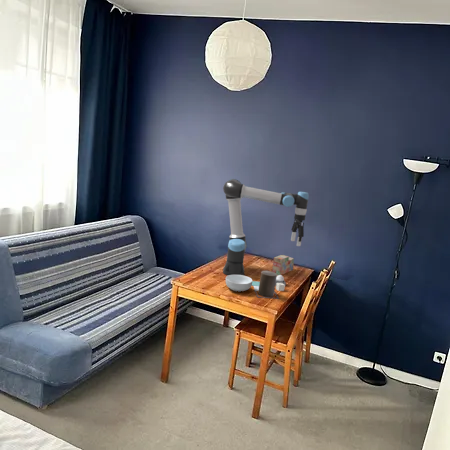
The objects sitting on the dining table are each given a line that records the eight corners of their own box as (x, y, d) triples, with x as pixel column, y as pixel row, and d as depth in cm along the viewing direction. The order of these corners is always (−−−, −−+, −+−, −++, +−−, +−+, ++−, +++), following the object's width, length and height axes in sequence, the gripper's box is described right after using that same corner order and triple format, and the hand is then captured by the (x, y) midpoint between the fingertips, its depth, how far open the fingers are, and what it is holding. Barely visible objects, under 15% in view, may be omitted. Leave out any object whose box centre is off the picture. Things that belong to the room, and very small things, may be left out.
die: (278, 291, 264) (279, 285, 264) (275, 288, 268) (276, 282, 267) (284, 290, 266) (284, 284, 265) (281, 288, 269) (282, 282, 269)
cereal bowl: (223, 283, 266) (224, 273, 265) (249, 285, 268) (250, 275, 266) (225, 293, 250) (226, 282, 248) (252, 295, 251) (254, 284, 250)
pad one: (255, 290, 260) (255, 290, 260) (253, 286, 268) (253, 285, 268) (269, 291, 261) (269, 291, 261) (266, 287, 269) (266, 286, 269)
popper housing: (275, 285, 274) (275, 282, 274) (272, 281, 281) (273, 278, 280) (285, 286, 275) (285, 282, 274) (283, 282, 282) (283, 279, 281)
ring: (257, 297, 249) (257, 296, 249) (254, 289, 261) (254, 289, 261) (278, 298, 250) (278, 298, 250) (274, 291, 263) (274, 290, 263)
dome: (276, 282, 275) (277, 276, 274) (275, 280, 280) (275, 273, 279) (283, 283, 275) (284, 276, 274) (282, 280, 280) (283, 274, 279)
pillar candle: (261, 297, 250) (264, 273, 247) (255, 291, 259) (259, 268, 256) (276, 297, 253) (279, 273, 250) (270, 291, 262) (273, 268, 259)
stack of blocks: (285, 268, 318) (287, 252, 315) (292, 270, 314) (295, 254, 312) (271, 273, 300) (273, 257, 298) (279, 275, 297) (281, 259, 294)
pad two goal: (250, 285, 268) (250, 285, 268) (248, 281, 277) (248, 280, 277) (264, 286, 269) (264, 286, 269) (261, 282, 278) (262, 281, 278)
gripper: (311, 218, 278) (306, 248, 283) (299, 211, 303) (295, 239, 307) (300, 216, 277) (295, 247, 281) (290, 210, 301) (285, 238, 306)
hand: (295, 243), depth 294 cm, fingers open, 13 cm apart
